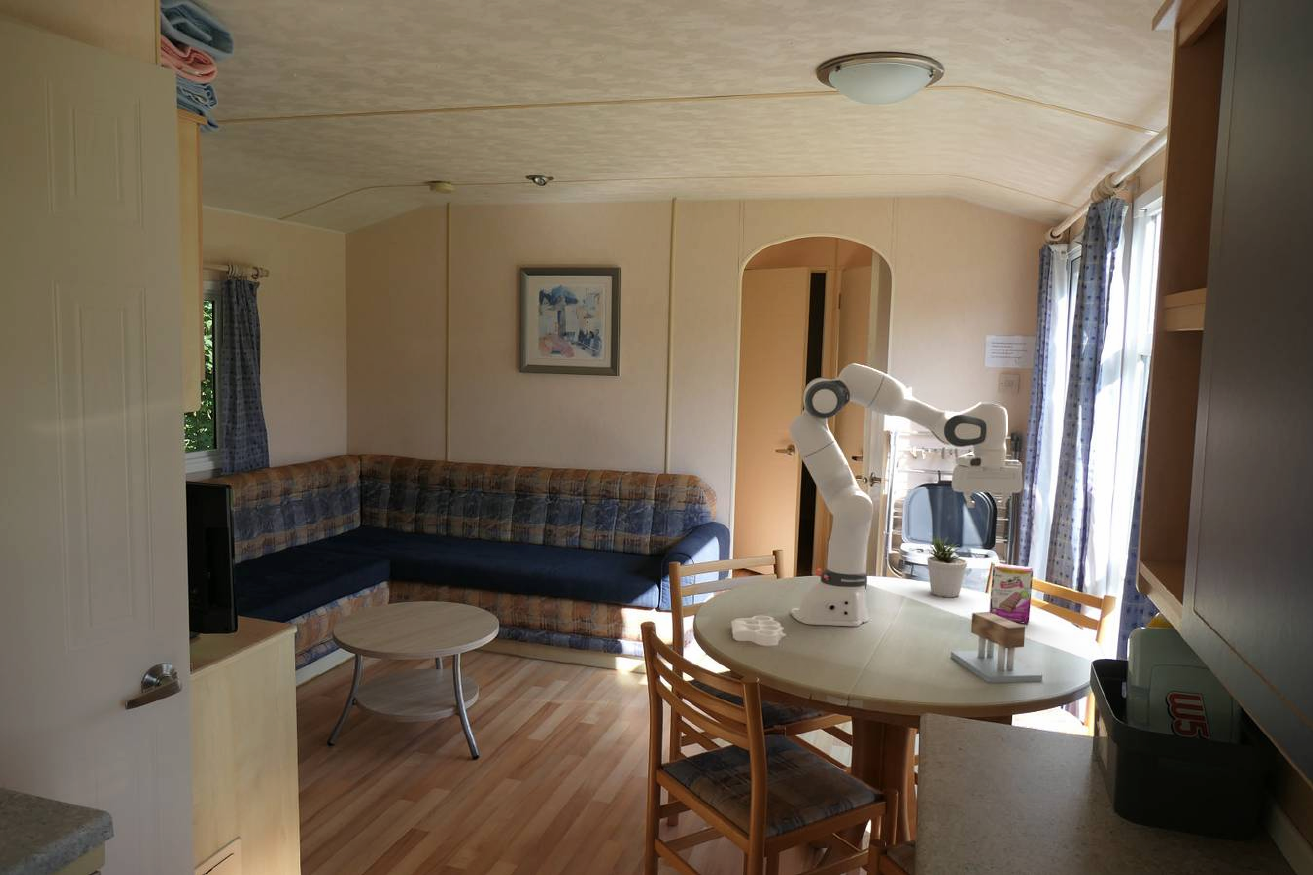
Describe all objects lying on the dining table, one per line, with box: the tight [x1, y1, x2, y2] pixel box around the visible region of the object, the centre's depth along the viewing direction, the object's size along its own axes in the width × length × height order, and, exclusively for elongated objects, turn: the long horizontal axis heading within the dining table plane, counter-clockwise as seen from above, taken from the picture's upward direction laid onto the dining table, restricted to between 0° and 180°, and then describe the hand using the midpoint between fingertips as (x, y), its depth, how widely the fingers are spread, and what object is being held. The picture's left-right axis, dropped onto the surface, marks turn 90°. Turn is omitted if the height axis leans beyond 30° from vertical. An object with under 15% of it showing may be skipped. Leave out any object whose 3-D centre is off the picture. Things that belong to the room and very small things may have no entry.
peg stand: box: [950, 636, 1043, 684], centre depth 216 cm, size 14×18×8 cm
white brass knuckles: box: [730, 615, 787, 647], centre depth 237 cm, size 3×18×15 cm
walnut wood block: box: [970, 611, 1026, 649], centre depth 216 cm, size 13×5×5 cm, turn 19°
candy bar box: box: [988, 562, 1034, 624], centre depth 260 cm, size 11×5×16 cm, turn 71°
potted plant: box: [927, 532, 968, 598], centre depth 288 cm, size 13×14×20 cm
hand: (985, 507), depth 248 cm, fingers open, 8 cm apart
